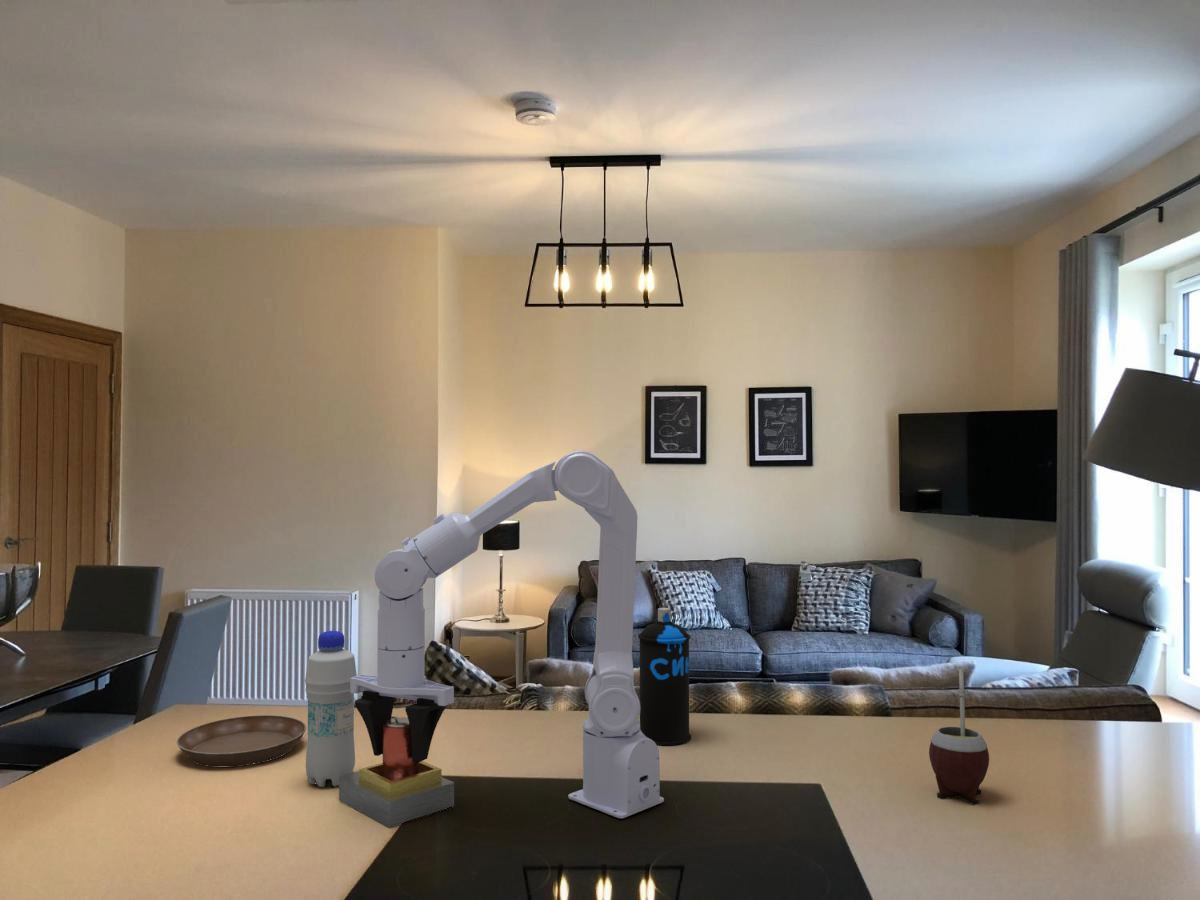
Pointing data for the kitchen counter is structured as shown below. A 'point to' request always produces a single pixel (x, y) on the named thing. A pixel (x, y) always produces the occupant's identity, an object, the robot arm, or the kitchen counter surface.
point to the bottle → (330, 710)
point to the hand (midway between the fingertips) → (400, 756)
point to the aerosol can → (664, 681)
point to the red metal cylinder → (398, 750)
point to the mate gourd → (959, 757)
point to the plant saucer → (241, 740)
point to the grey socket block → (396, 794)
